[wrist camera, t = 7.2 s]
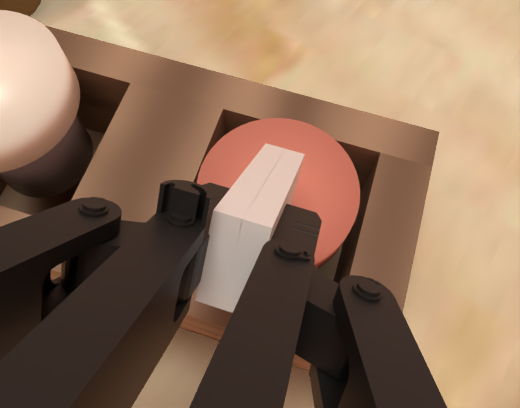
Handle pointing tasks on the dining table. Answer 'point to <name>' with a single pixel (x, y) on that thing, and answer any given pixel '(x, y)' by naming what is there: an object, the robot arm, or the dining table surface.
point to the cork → (20, 6)
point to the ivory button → (38, 111)
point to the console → (209, 133)
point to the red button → (310, 178)
